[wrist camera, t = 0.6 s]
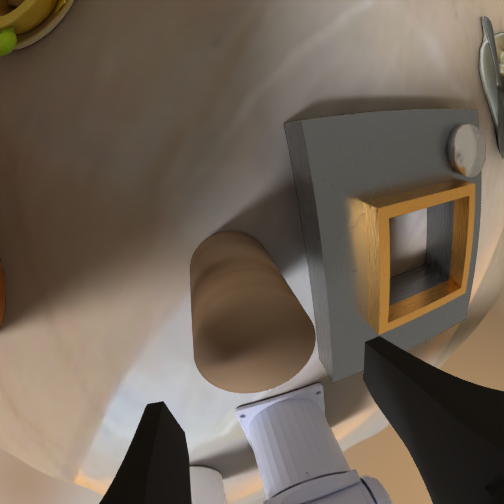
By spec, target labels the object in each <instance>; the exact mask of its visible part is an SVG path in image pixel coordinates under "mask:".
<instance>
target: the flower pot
mask: <svg viewBox="0 0 504 504" xmlns="http://www.w3.org/2000/svg"><path fill="white" fill-rule="evenodd" d="M4 312H5V283H4V276H3V270H2V265H1V261H0V327H1V323H2V320H3V317H4Z"/></svg>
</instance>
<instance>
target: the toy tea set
mask: <svg viewBox="0 0 504 504" xmlns="http://www.w3.org/2000/svg"><path fill="white" fill-rule="evenodd" d="M73 1H74V0H0V56H5V55H7V54H9V53H10V52H11V51H13V50H17V49H21V48H25V47H27V46H29V45H32V44H33V43H35V42H37V41H38V40H40V39H41V38H43V37H44V36H45V35H47V34H48V33H49V32H50V31H51V30H52V29H53V28H55V27H56V25H57V24H58V23H59V22H60V21H61V20H62V19H63V18H64V16H65V15H66V13H67V12H68V11H69V9H70V7H71V6H72V4H73Z"/></svg>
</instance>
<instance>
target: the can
mask: <svg viewBox="0 0 504 504" xmlns="http://www.w3.org/2000/svg"><path fill="white" fill-rule="evenodd" d="M189 467H190V484H191V499H192V504H227V501H226V496H225V491H224V486H223V481H222V476H221V474H220V473H219V472H217V471H216V470H215V469H213V468H210V467H205V466H189Z"/></svg>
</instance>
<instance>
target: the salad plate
mask: <svg viewBox="0 0 504 504" xmlns="http://www.w3.org/2000/svg"><path fill="white" fill-rule="evenodd" d="M482 26H483V31H484V38H483V42H482V45H481V47H480V61H479V71H480V77H481V81H482V86H483V89H484V92H485V95H486V98H487V101H488V104H489V108H490V112H491V115H492V119H493V123H494V127H495V131H496V135H497V140H498V145H499V151H500V154H501V156H502V158H504V33H498V34H496V35H494V33H493V28H492V24H491V21H490V20H489V19H488V18H487V17H486V16H483V17H482Z"/></svg>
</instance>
